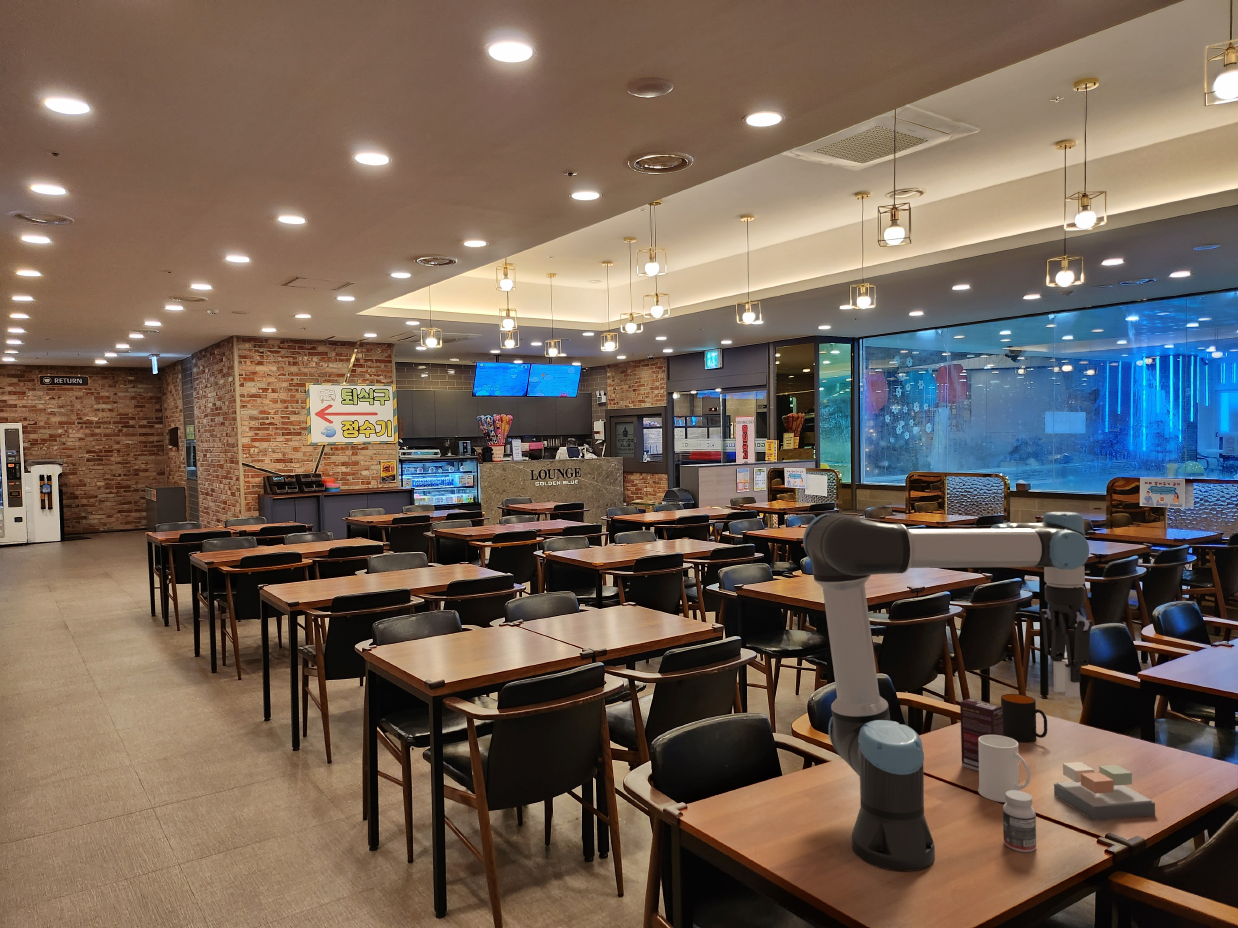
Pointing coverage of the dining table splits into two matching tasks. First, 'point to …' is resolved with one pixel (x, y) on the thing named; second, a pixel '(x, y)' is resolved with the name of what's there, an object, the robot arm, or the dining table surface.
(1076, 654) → the robot arm
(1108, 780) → the terracotta key
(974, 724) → the supplement box
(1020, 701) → the mug
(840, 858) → the dining table surface
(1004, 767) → the mug
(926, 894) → the dining table surface
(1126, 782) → the sage key
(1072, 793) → the keypad
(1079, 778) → the cream key
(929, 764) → the dining table surface
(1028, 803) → the pill bottle
